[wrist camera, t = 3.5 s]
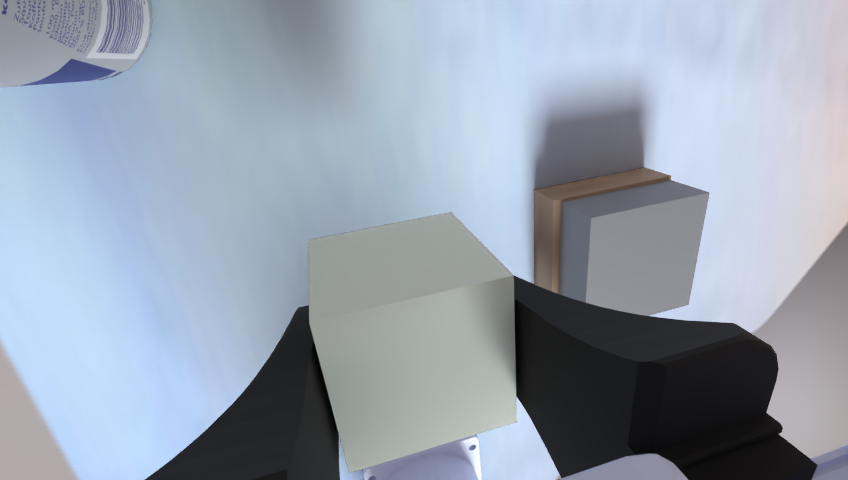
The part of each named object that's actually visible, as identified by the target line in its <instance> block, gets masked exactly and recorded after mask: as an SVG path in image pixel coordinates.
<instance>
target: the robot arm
mask: <svg viewBox="0 0 848 480" xmlns="http://www.w3.org/2000/svg"><path fill="white" fill-rule="evenodd" d="M514 311H515V359H516V396H517V397H518V399H519V400H520V402H521V403H522V405H523V406H524V408H525V410H526V411H527V413H528V415H529V416H530V418H531V420H532V422H533V423H534V425H535V427H536V429H537V431H538V433H539V435H540V437H541V439H542V440H543V442H544V444H545V446H546V448H547V450H548V452H549V454H550V456H551V458H552V460H553V462H554V464H555V466H556V468H557V470H558V472H559V474H560V476H561V479H558V480H848V445H845V446H842V447H840V448H837V449H835V450H832V451H829V452H827V453H824V454H822V455H819V456H816V457H813V458H811V459H810V458H808V457H807V456H806V455H804V454H803V453H802V452H801V451H799V450H798V449H797V448H795V447H794V446H793V445H792V444H790V443H789V442H787V440H785V439H784V438H783V437H781V436H780V435H779V433H781V432H782V429H783V428H782V426H781V424H780V423H779V422H778V421H776V420H775V419H774V418H772V417H771V416H770V415H768V414H767V413H766V411H767V408H768V405H769V402H770V399H771V396H772V392H773V389H774V386H775V383H776V379H777V374H778V362H777V355H776V353H775V351H774V350H773V348H772V347H771V346H770V345H769V344H767V343H765V342H764V341H762V340H760V339H759V338H757V337H756V336H754V335H752V334H751V333H749V332H748V331H746V330H744V329H743V328H741V327H740V326H738V325H736V324H734V323H720V322H702V321H685V320H676V319H667V318H658V317H651V316H644V315H638V314H633V313H628V312H622V311H617V310H613V309H608V308H604V307H600V306H596V305H593V304H589V303H585V302H582V301H578V300H575V299H572V298H569V297H566V296H563V295H560V294H558V293H555V292H552V291H549V290H547V289H544V288H542V287H539V286H537V285H534V284H532V283H530V282H527V281H525V280H523V279H520V278H518V277H516V276H514ZM363 476H364V480H482V478H481V464H480V450H479V439H478V437H477V435H472V436H469V437H466V438H463V439H459V440H456V441H453V442H450V443H446V444H443V445H440V446H436V447H433V448H430V449H427V450H423V451H420V452H417V453H414V454H410V455H407V456H404V457H401V458H397V459H394V460H391V461H388V462H384V463H381V464H378V465H374V466H371V467H368V468H365V469H363ZM145 480H340V475H339V434H338V429H337V425H336V422H335V418H334V414H333V410H332V406H331V403H330V399H329V395H328V391H327V388H326V384H325V380H324V376H323V373H322V369H321V365H320V361H319V358H318V354H317V350H316V346H315V343H314V339H313V335H312V331H311V328H310V324H309V305H308V306H304V307H299V308H298V309H297V311H296V312H295V314H294V316H293V318H292V320H291V321H290V323H289V325H288V327H287V329H286V331H285V332H284V334H283V336H282V338H281V339H280V341H279V343H278V344H277V346H276V348H275V349H274V351H273V352H272V354H271V356H270V357H269V358H268V360H267V361H266V363H265V364H264V366H263V367H262V368H261V370H260V371H259V373H258V374H257V376H256V377H255V378H254V380H253V381H252V382H251V383H250V385H249V386H248V387H247V388H246V389H245V391H244V392H243V393H242V394H241V395H240V396H239V397H238V399H237V400H236V401H235V402H234V403H233V404H232V405H231V406H230V407H229V408H228V409H227V410H226V411H225V412H224V413H223V414H222V415H221V416H220V417H219V418H218V419H217V420H216V421H215V422H214V423H213V424H212V425H211V426H210V427H209V428H208V429H207V430H206V431H205V432H204V433H202V434H201V435H200V436H199V437H198V438H197V439H196V440H194V441H193V442H192V443H191V444H190V445H189V446H188V447H186V448H185V449H184V450H183V451H182V452H180V453H179V454H178V455H177V456H175V457H174V458H173V459H172V460H171V461H169V462H168V463H167V464H165V465H164V466H163V467H162V468H160V469H159V470H158V471H156V472H155V473H153V474H152V475H151V476H149V477H148V478H147V479H145Z"/></svg>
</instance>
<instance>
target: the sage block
mask: <svg viewBox="0 0 848 480" xmlns="http://www.w3.org/2000/svg"><path fill="white" fill-rule="evenodd" d="M308 257H309V324H310V328H311V331H312V335H313V339H314V343H315V346H316V350H317V354H318V358H319V361H320V365H321V369H322V373H323V376H324V380H325V384H326V388H327V391H328V395H329V399H330V403H331V406H332V410H333V414H334V418H335V422H336V425H337V429H338V433H339V437H340V440H341V444H342V448H343V452H344V455H345V459H346V463H347V467H348V470H349V473H352V472H355V471H358V470H361V469H365V468H368V467H371V466H374V465H378V464H381V463H384V462H388V461H391V460H394V459H397V458H401V457H404V456H407V455H410V454H414V453H417V452H420V451H423V450H427V449H430V448H433V447H436V446H440V445H443V444H446V443H450V442H453V441H456V440H459V439H463V438H466V437H469V436H472V435H476V434H479V433H482V432H485V431H489V430H492V429H495V428H499V427H502V426H505V425H508V424H512V423H515V422H517V408H516V359H515V311H514V275H513V274H512V273H511V272H510V271H509V270H508V269H507V268H506V267H505V266H504V265H503V264H502V263H501V262H500V261H499V260H498V259H497V258H496V257H495V256H494V255H493V254H492V253H491V252H490V251H489V250H488V249H487V248H486V247H485V246H484V245H483V244H482V243H481V242H480V241H479V240H478V239H477V238H476V237H475V236H474V235H473V234H472V233H471V232H470V231H469V230H468V229H467V228H466V227H465V226H464V225H463V224H462V223H461V222H460V221H459V220H458V219H457V218H456V217H455V216H454V215H453V214H452V213H451V212H449V213H444V214H439V215H434V216H428V217H423V218H418V219H413V220H408V221H403V222H398V223H393V224H388V225H382V226H377V227H372V228H367V229H362V230H357V231H352V232H347V233H342V234H337V235H331V236H326V237H321V238H316V239H311V240H308Z"/></svg>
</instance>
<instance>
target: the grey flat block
mask: <svg viewBox="0 0 848 480" xmlns="http://www.w3.org/2000/svg"><path fill="white" fill-rule="evenodd" d="M708 198H709V192H706V191H703V190H700V189H697V188H693V187H690V186H687V185H684V184H681V183H678V182H675V181H672V180H666V181H661V182H656V183H651V184H646V185H642V186H637V187H632V188H627V189H622V190H617V191H612V192H607V193H602V194H597V195H592V196H588V197H583V198H578V199H573V200H568V201H563V202H561V221H560V252H559V284H558V294H560V295H563V296H566V297H569V298H572V299H575V300H578V301H582V302H585V303H589V304H593V305H596V306H600V307H604V308H608V309H613V310H617V311H622V312H628V313H633V314H638V315H644V316H649V315H653V314H657V313H660V312H664V311H667V310H671V309H675V308H678V307H682V306H686V305H688V304H689V299H690V294H691V288H692V283H693V278H694V272H695V267H696V262H697V256H698V251H699V246H700V240H701V235H702V230H703V224H704V219H705V214H706V208H707V203H708Z"/></svg>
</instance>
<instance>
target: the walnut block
mask: <svg viewBox="0 0 848 480" xmlns="http://www.w3.org/2000/svg"><path fill="white" fill-rule="evenodd" d="M666 180H671V176H670V175H667V174H663V173H660V172H657V171H654V170H650V169H647V168H639V169H634V170H629V171H624V172H619V173H614V174H609V175H604V176H599V177H594V178H590V179H585V180H580V181H575V182H570V183H565V184H560V185H555V186H550V187H545V188H540V189H535V190H534V278H535V285H537V286H539V287H542V288H544V289H547V290H549V291H552V292H555V293H558V284H559V252H560V221H561V202H563V201H568V200H573V199H578V198H583V197H588V196H592V195H597V194H602V193H607V192H612V191H617V190H622V189H627V188H632V187H637V186H642V185H646V184H651V183H656V182H661V181H666Z"/></svg>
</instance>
